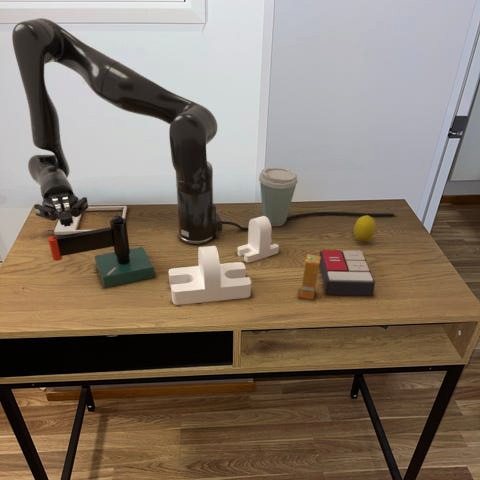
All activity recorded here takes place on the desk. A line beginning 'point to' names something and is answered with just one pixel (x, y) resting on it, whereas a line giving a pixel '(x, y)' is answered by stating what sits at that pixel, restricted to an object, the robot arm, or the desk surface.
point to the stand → (124, 267)
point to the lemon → (364, 228)
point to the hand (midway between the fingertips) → (67, 222)
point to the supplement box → (310, 276)
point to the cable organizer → (258, 241)
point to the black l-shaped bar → (93, 240)
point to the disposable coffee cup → (277, 193)
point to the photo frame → (73, 228)
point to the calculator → (346, 273)
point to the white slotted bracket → (209, 280)
